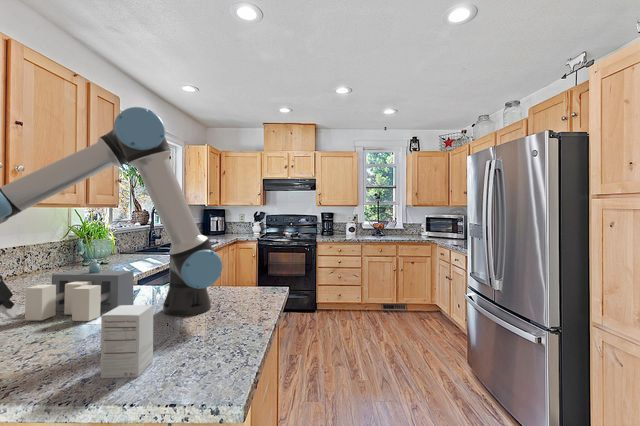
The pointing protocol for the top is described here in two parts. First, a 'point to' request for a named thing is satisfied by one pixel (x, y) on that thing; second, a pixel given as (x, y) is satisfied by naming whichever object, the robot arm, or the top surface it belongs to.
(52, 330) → the top surface
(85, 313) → the knob
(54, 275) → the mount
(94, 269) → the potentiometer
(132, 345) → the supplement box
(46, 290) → the knob
